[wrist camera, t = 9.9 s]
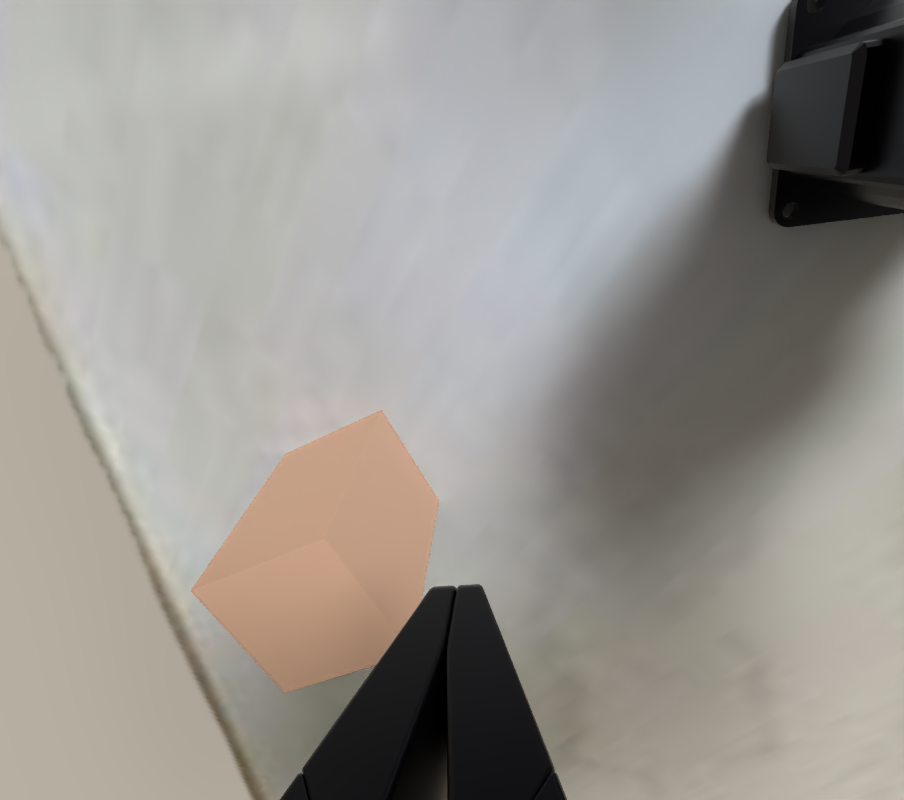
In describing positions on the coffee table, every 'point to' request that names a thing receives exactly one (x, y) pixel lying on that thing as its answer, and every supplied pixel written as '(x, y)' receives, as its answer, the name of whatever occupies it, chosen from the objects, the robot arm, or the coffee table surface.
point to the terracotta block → (326, 557)
